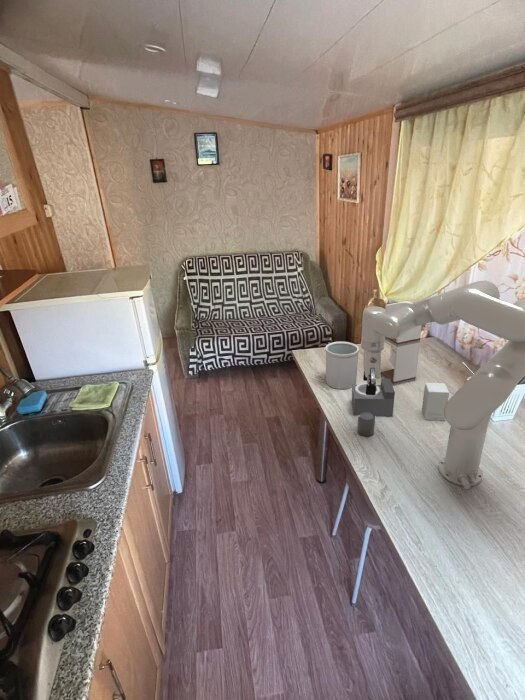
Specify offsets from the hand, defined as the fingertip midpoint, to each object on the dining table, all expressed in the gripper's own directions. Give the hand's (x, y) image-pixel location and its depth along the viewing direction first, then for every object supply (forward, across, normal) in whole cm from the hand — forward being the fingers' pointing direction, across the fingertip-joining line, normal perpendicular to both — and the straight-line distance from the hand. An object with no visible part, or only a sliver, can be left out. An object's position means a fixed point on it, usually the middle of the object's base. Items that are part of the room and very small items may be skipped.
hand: (369, 387), depth 137 cm
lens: (+19, -1, 0) cm, 19 cm away
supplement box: (+19, +12, -27) cm, 35 cm away
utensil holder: (+20, +37, +8) cm, 43 cm away
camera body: (+19, +16, -4) cm, 25 cm away
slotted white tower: (+19, +42, -18) cm, 50 cm away
